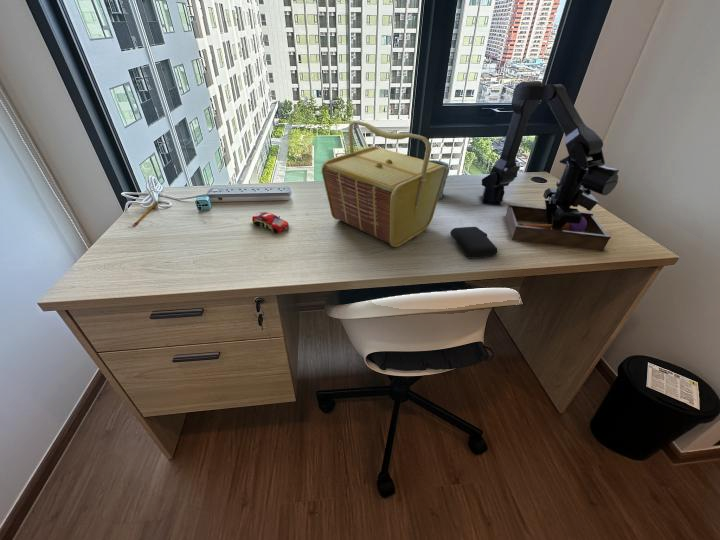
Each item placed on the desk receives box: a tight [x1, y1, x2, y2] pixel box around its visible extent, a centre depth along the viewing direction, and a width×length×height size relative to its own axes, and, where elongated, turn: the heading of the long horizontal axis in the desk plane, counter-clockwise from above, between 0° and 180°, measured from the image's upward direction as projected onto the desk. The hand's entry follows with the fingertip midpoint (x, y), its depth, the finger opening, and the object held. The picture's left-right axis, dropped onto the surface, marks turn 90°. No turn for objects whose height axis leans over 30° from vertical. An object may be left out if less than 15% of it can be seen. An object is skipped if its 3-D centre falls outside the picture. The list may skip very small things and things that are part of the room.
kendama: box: [519, 217, 587, 233], centre depth 104 cm, size 6×6×20 cm
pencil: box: [132, 200, 159, 228], centre depth 112 cm, size 19×1×1 cm, turn 4°
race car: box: [251, 211, 290, 235], centre depth 104 cm, size 13×5×4 cm, turn 57°
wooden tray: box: [504, 203, 612, 252], centre depth 104 cm, size 26×16×5 cm, turn 78°
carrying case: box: [450, 226, 498, 259], centre depth 97 cm, size 11×3×15 cm
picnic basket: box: [320, 120, 447, 248], centre depth 99 cm, size 29×26×30 cm
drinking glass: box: [429, 159, 451, 200], centre depth 124 cm, size 10×10×12 cm
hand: (551, 229), depth 105 cm, fingers closed on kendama, 5 cm apart
